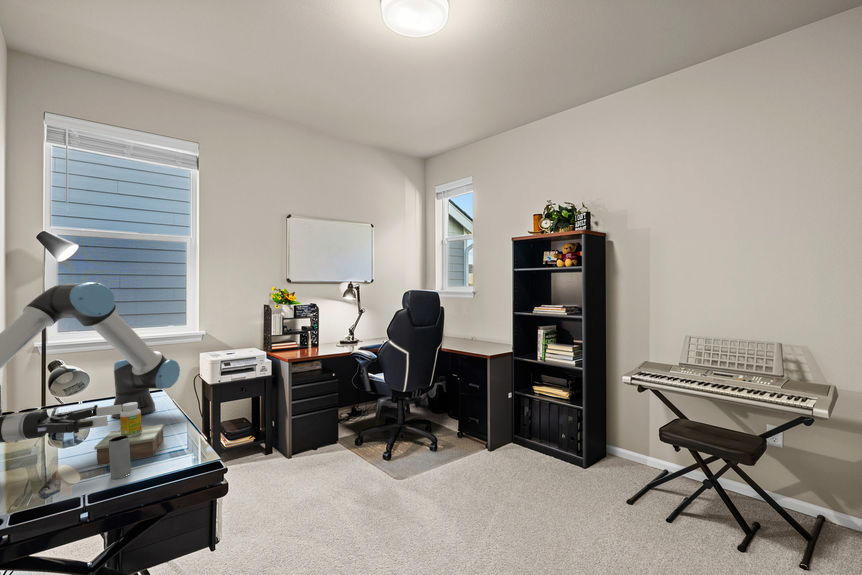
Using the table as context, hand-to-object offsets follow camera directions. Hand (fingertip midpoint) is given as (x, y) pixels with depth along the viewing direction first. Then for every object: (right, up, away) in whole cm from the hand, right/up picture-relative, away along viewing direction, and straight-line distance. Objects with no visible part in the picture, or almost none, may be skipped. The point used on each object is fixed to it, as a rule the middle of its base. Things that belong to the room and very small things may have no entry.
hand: (114, 414), depth 134 cm
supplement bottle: (+4, -7, +2) cm, 8 cm away
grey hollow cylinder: (+13, -12, -15) cm, 24 cm away
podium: (+4, -12, +2) cm, 13 cm away
